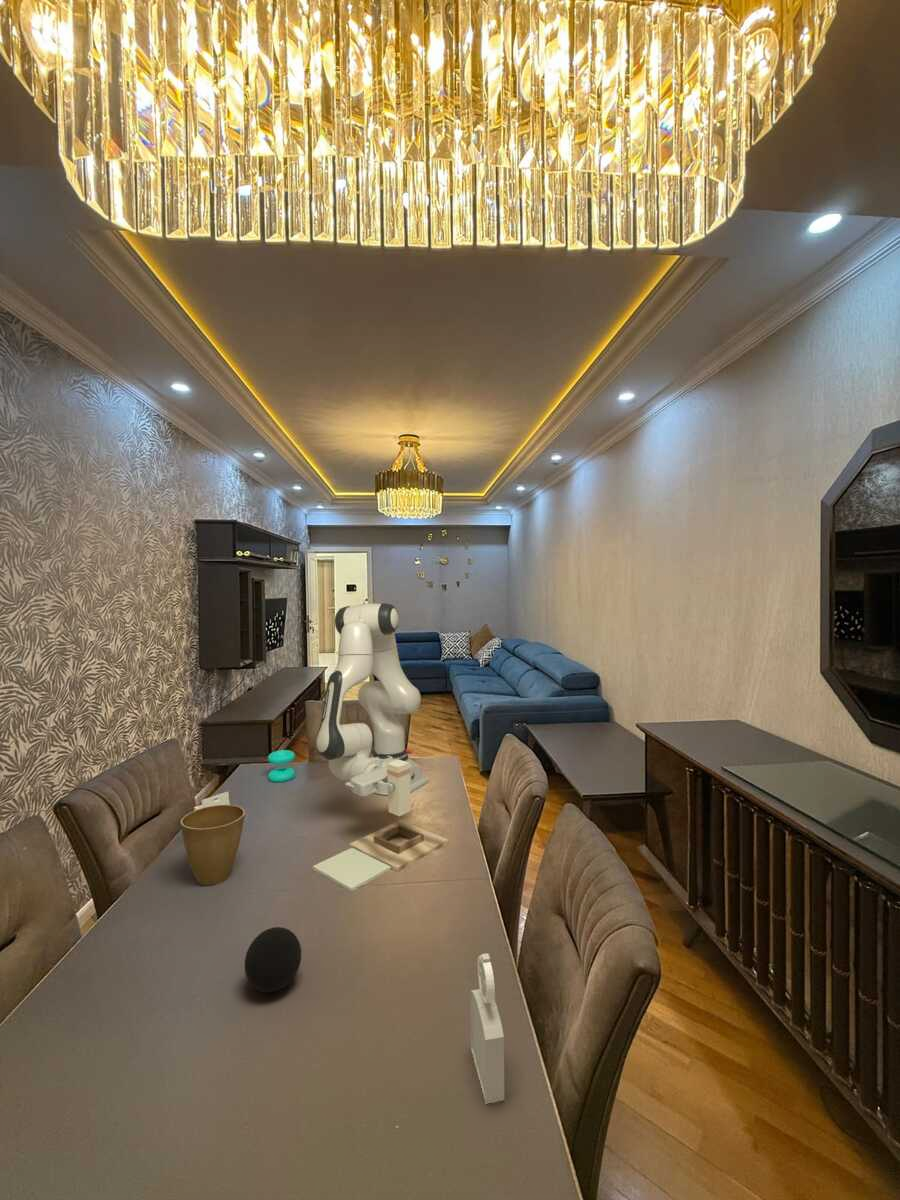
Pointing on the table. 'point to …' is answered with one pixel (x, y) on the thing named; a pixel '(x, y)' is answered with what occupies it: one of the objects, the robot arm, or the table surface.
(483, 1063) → the grey block with loop
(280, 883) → the table surface
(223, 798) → the ink cartridge box
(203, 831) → the plant pot
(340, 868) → the pad
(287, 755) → the donuts
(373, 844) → the wooden square socket board
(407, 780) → the banded cream pillar
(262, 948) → the decorative ball
